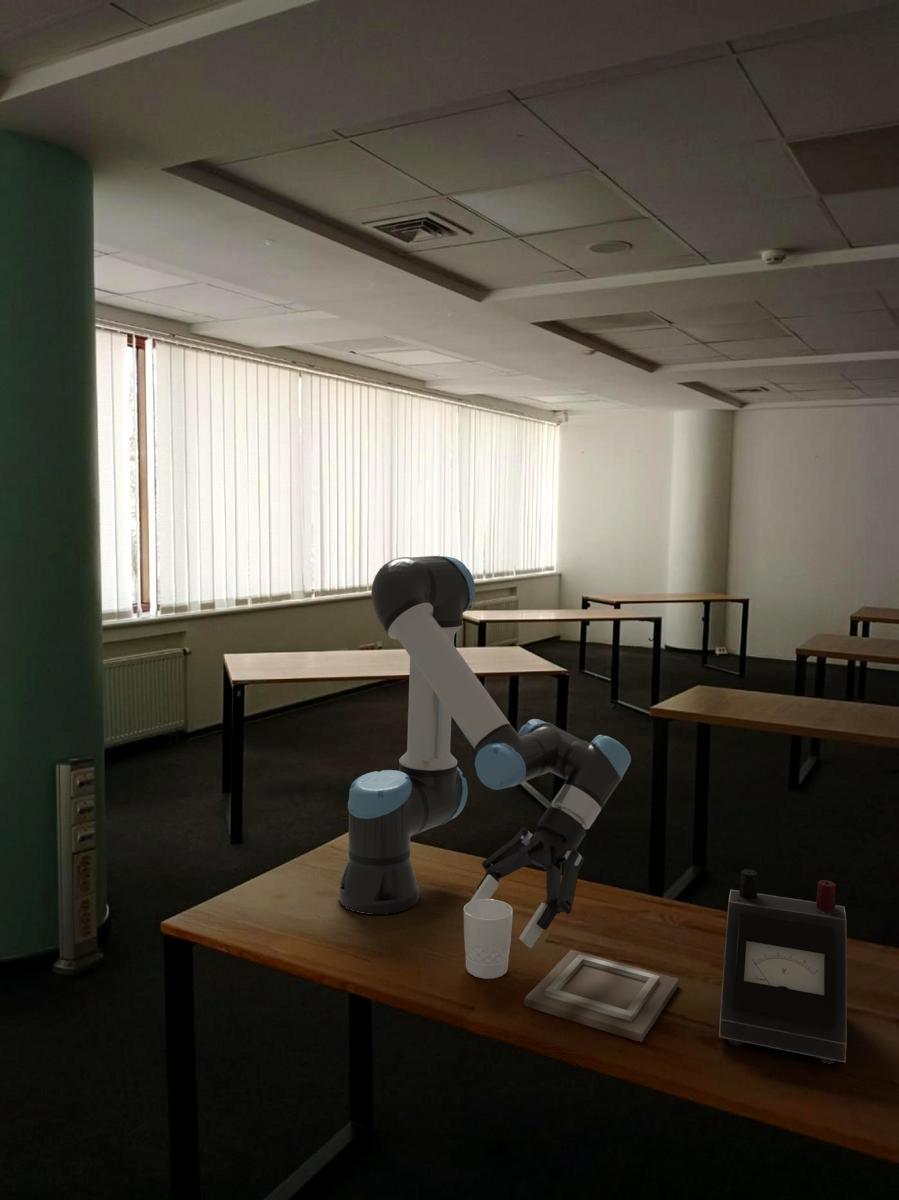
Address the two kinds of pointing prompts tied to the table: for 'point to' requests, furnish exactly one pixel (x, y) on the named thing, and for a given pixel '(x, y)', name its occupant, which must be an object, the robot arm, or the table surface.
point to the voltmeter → (785, 972)
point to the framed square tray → (603, 994)
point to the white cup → (487, 937)
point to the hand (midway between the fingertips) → (497, 927)
